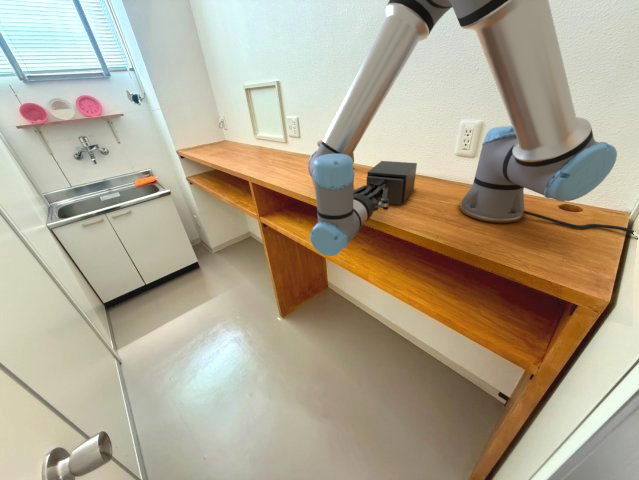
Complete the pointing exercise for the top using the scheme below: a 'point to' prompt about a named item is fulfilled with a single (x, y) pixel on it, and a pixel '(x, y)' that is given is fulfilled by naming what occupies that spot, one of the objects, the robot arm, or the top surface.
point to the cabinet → (397, 174)
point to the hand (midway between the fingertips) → (383, 182)
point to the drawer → (389, 187)
